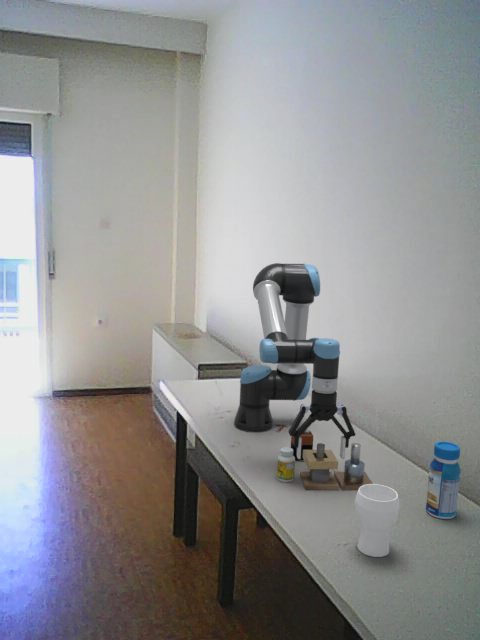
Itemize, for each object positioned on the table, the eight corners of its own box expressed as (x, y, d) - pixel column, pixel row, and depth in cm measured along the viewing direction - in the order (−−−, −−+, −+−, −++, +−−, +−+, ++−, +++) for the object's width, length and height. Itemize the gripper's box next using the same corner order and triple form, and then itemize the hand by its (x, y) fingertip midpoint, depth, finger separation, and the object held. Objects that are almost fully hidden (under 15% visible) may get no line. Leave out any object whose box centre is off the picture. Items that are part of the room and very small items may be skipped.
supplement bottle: (297, 481, 184) (298, 451, 183) (281, 483, 182) (283, 454, 180) (288, 474, 189) (290, 445, 187) (273, 476, 187) (275, 447, 185)
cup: (346, 537, 152) (350, 482, 150) (387, 537, 153) (391, 482, 151) (358, 561, 142) (363, 502, 139) (401, 560, 143) (406, 502, 140)
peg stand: (333, 476, 189) (336, 438, 187) (364, 476, 190) (367, 438, 188) (341, 490, 179) (344, 451, 177) (373, 490, 180) (377, 451, 178)
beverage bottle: (452, 523, 162) (460, 454, 158) (421, 514, 166) (428, 446, 163) (459, 511, 169) (466, 444, 165) (429, 502, 173) (435, 437, 170)
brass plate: (302, 457, 186) (303, 449, 186) (330, 457, 187) (331, 449, 187) (308, 469, 177) (308, 461, 177) (337, 469, 178) (338, 461, 178)
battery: (312, 460, 200) (314, 432, 198) (292, 461, 199) (294, 432, 198) (309, 455, 204) (310, 428, 203) (289, 455, 204) (291, 428, 202)
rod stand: (299, 475, 188) (301, 438, 186) (330, 475, 189) (333, 438, 187) (305, 490, 178) (307, 450, 176) (338, 490, 179) (341, 451, 177)
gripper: (285, 393, 174) (281, 462, 177) (368, 394, 176) (363, 462, 179) (281, 386, 181) (278, 452, 184) (361, 387, 183) (356, 452, 186)
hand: (320, 457), depth 182 cm, fingers open, 13 cm apart
